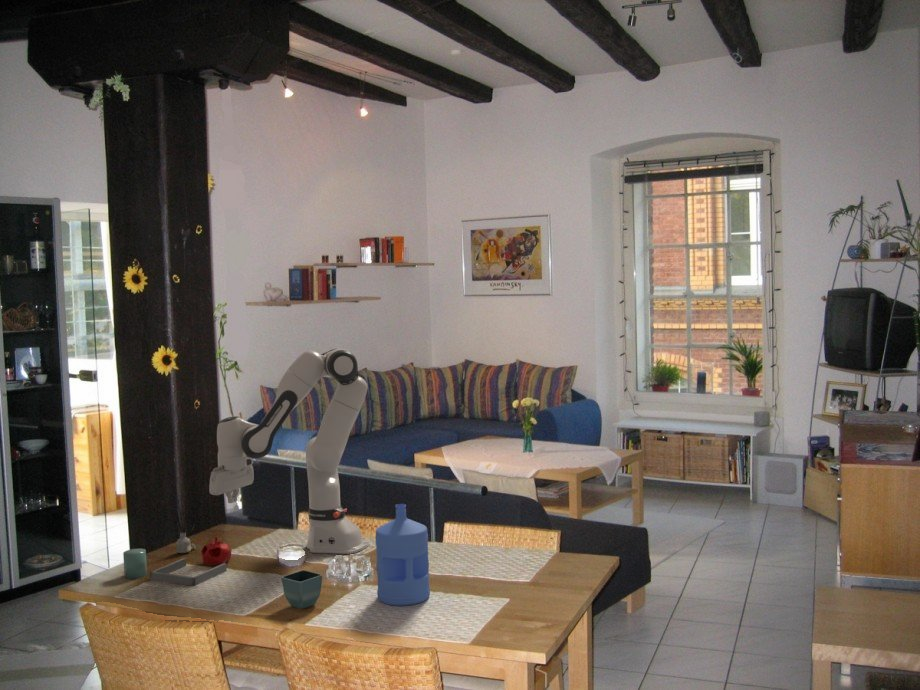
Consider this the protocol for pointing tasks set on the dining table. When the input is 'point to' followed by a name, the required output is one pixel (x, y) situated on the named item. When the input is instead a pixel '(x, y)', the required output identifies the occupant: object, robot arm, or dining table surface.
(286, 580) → the flower pot
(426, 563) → the water jug
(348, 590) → the dining table surface
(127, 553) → the rounded teal cylinder
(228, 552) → the pomegranate
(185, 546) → the reed diffuser
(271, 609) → the dining table surface
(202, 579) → the grey shallow tray frame
